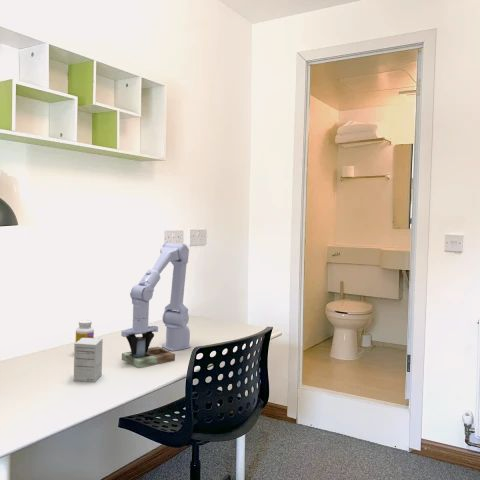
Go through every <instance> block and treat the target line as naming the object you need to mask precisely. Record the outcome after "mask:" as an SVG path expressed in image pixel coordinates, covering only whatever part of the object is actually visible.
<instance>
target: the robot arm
mask: <svg viewBox="0 0 480 480" xmlns="http://www.w3.org/2000/svg"><path fill="white" fill-rule="evenodd" d="M189 253H190V249H189V247H188V245H187V244H186V243H174V242H173V243H172V242H168V241H167V242H164V243H163V244H162V246H161V247H160V255H159V257H158V258H157V260H156V262H155V263H154V265H153V267H152V269H148V270H147V271H146V272H145V274H144V275H143V277H142V278H141V280H140V281H139V283H138V284H136V285H133V287H132V288H131V290H130V292H129V296H130V298H131V303H132V327H131V328H128V329H123V330H121V337H123V338H126V341H127V342H128V345H129V348H130V352H131V354H133V355H136V346H137V341H138V337H139V336H136V335H141V337H145V338H146V344H145V352H147V351H148V348H150V344H151V343H152V340H153V338H154V337H155V333H158V332H159V326H157V325H149V313H150V312H149V311H150V310H149V309H150V300H151V299H153V295H154V291H155V287H156V286H157V284H158V283H159V281H160V280H161V275H160V274H162V272H163V271H164V269H165V268H166V267H167V266H168V265H169V263H170V264H172V267H173V269H172V270H173V271H172V279H171V280H172V281H171V292H170V302H169V303H168V304H167V305H166V306H165V307H164V311H163V314H162V323H163V324H164V327H166V331H165V332H166V335H165V337H166V338H165V344H162V345H161V348H163V349H165V350H166V349H167V351H170V352H175V351H179V350H184V349H185V350H186V349H189V348H191V346H190V338H191V337H190V336H191V333H190V331H191V330H190V328H189V327H188V323H189V320H190V317H189V309H188V307H186V305H184V293H185V283H186V274H187V264H188V263H189Z"/></svg>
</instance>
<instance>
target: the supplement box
mask: <svg viewBox="0 0 480 480" xmlns="http://www.w3.org/2000/svg"><path fill="white" fill-rule="evenodd" d="M73 348H74V349H73V352H74V353H73V381H74V382H75V381H76V382H89V383H90V382H91V383H96V381H97V380H98V379H99V378H100V377H101V376H102V372H103V371H102V369H103V338H96V337H95V338H81V339H80V340H79V341H77V342H76V341H75V342H74V347H73Z"/></svg>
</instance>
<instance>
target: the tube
mask: <svg viewBox="0 0 480 480" xmlns="http://www.w3.org/2000/svg"><path fill="white" fill-rule="evenodd" d="M137 337H138V341H137V346H136V355H133V357H134V358H136V359H138V358H143V357H145V344H146V338H145V337H142V336H137Z"/></svg>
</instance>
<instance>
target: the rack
mask: <svg viewBox="0 0 480 480" xmlns="http://www.w3.org/2000/svg"><path fill="white" fill-rule="evenodd" d="M175 360H176V353H174V352H173V351H170V350H168V349H167V350H166V348H164V347H160V346H154V347H149V348H148V351H147V352H145V357H143V358H138V359H136V358H134V357H133V354H131V351H127V352H126V351H125V352H121V361H123V362H125V363H127V364H130V365H131V366H133V367H135V368H137V369H140V368H145V367H149V366H155V365H158V364H159V365H160V364H164V363H168V362H169V363H170V362H173V361H174V362H175Z"/></svg>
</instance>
